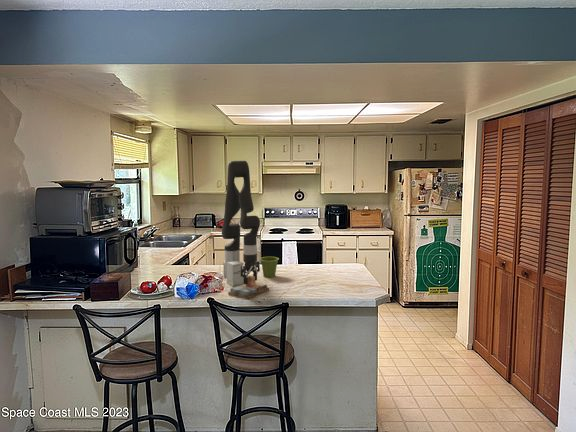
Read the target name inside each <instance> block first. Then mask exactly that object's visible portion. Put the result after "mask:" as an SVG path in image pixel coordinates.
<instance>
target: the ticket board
mask: <svg viewBox="0 0 576 432" xmlns="http://www.w3.org/2000/svg"><path fill="white" fill-rule="evenodd" d="M241 285H242V284H240V285H235V286H232V287H230V291H228V292H227V295H228V296H232V297H236V298H242V299H247V300H251V299H254V298H256V297H258V296H261V295H263V294H264V293H267V292H269V291H270V287H268V286H267V284H263V285H256V284H255V286H259V288H257V289H255V288H250V287H246V286H241Z"/></svg>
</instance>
